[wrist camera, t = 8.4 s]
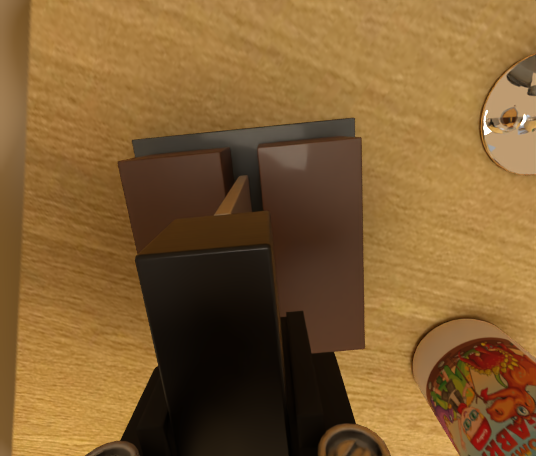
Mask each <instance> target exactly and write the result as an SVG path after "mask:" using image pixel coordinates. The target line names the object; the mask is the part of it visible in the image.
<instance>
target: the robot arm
mask: <svg viewBox="0 0 536 456" xmlns="http://www.w3.org/2000/svg"><path fill="white" fill-rule="evenodd" d="M280 319H281V329H282V340H283V351H284V365H285V379H286V392H287V406H288V418H289V429H290V440H291V450H292V456H391V455H390V452H389V450H388V448H387V446H386V444H385V442H384V441H383V440H382V439H381V438H380V437H379V436H378V435H377V434H376V433H375V432H373V431H372V430H370V429H368V428H367V427H364V426H361V425H358V424H356V423H355V419H354V416H353V413H352V409H351V406H350V403H349V399H348V396H347V393H346V389H345V386H344V383H343V379H342V376H341V373H340V369H339V366H338V363H337V360H336V356H335V354H334V352H322V353H311V348H310V343H309V338H308V332H307V327H306V322H305V317H304V312H303V311H292V312H286V317H280ZM85 456H178V452H177V448H176V443H175V439H174V434H173V430H172V425H171V421H170V416H169V412H168V407H167V403H166V398H165V394H164V389H163V385H162V380H161V375H160V371H159V366H157V367H156V368H155V369H154V371H153V373H152V375H151V377H150V379H149V381H148V383H147V386H146V388H145V390H144V392H143V394H142V396H141V398H140V400H139V402H138V404H137V406H136V409H135V411H134V413H133V415H132V417H131V419H130V421H129V423H128V425H127V427H126V430H125V432H124V434H123V436H122V438H121V440H120V441H114V442H110V443H106V444H104V445H102V446H100V447H97V448H95V449H94V450H93V451H91V452H90V453H88V454H87V455H85Z"/></svg>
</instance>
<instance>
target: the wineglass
mask: <svg viewBox="0 0 536 456" xmlns="http://www.w3.org/2000/svg"><path fill="white" fill-rule="evenodd" d="M481 136H482V142H483V144H484V147H485V150H486V152H487V153H488V155H489V156H490V158H491V159H492V160H493V161H494V162H495V163H496V164H497V165H498V166H499V167H501V168H503V169H504V170H506V171H508V172H511V173H515V174H518V175H536V54H533V55H530V56H527V57H526V58H524V59H522V60H520V61H518V62H517V63H515V64H514V65H513V66H512V67H511V68H509V69H508V70H507V71H506V72H505V73H504V74H503V75H502V76H501V77H500V78H499V80H498V81H497V82H496V83H495V85H494V86H493V88H492V90H491V91H490V93H489V95H488V97H487V100H486V102H485V104H484V108H483V112H482V116H481Z"/></svg>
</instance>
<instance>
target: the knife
mask: <svg viewBox="0 0 536 456" xmlns="http://www.w3.org/2000/svg"><path fill="white" fill-rule="evenodd" d="M135 262H136V267H137V271H138V276H139V280H140V285H141V290H142V294H143V299H144V303H145V308H146V312H147V317H148V321H149V326H150V330H151V335H152V339H153V344H154V348H155V353H156V357H157V362H158V366H159V371H160V375H161V380H162V385H163V389H164V394H165V398H166V403H167V407H168V412H169V416H170V421H171V425H172V430H173V434H174V439H175V443H176V448H177V452H178V456H292V450H291V440H290V429H289V418H288V406H287V392H286V379H285V365H284V351H283V340H282V329H281V319H280V308H279V298H278V287H277V277H276V266H275V256H274V245H273V235H272V224H271V214H270V212H269V211H258V212H252V207H251V198H250V189H249V180H248V175H243V176H239V177H238V179H237V180H236V182H235V183H234V185H233V186H232V188H231V189H230V191H229V193H228V194H227V196H226V197H225V199H224V200H223V202H222V203H221V205H220V206H219V208H218V210H217V211H216V213H215V214H214V216H204V217H193V218H182V219H175V220H174V221H173V222H172V223H170V224H169V225H168V226H167V227H166V228H165V229H164V230H163V231H162V232H161V233H160V234H159V235H158V236H157V237H156V238H155V239H153V240H152V241H151V242H150V243H149V244H148V245H147V246H146V247H145V248H144V249H143V250H142V251H141V252H140V253H139V254H138V255H136V257H135Z"/></svg>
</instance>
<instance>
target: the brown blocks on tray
mask: <svg viewBox="0 0 536 456" xmlns="http://www.w3.org/2000/svg"><path fill="white" fill-rule="evenodd" d="M132 144H133V149H134V154H135V158H132V159H127V160H122V161H118V167H119V172H120V177H121V181H122V186H123V190H124V195H125V199H126V204H127V209H128V213H129V218H130V222H131V227H132V231H133V236H134V240H135V245H136V250H137V254H139V253H140V252H141V251H142V250H143V249H144V248H145V247H146V246H147V245H148V244H149V243H150V242H151V241H152V240H153V239H155V238H156V237H157V236H158V235H159V234H160V233H161V232H162V231H163V230H164V229H165V228H166V227H167V226H168V225H169V224H170V223H172V222H173V221H174V220H175V219H182V218H193V217H204V216H214V214H215V213H216V211H217V210H218V208H219V206H220V205H221V203H222V202H223V200H224V199H225V197H226V196H227V194H228V193H229V191H230V189H231V188H232V186H233V185H234V183H235V182H236V180H237V179H238V177H239V176H243V175H248V180H249V189H250V198H251V207H252V212H258V211H269V212H270V214H271V224H272V235H273V245H274V256H275V266H276V277H277V287H278V298H279V308H280V317H286V312H292V311H303V312H304V317H305V322H306V327H307V332H308V338H309V343H310V348H311V353H322V352H335V351H346V350H358V349H365V330H364V267H363V204H362V140H361V137H355V118H347V119H337V120H327V121H317V122H307V123H297V124H287V125H277V126H267V127H257V128H247V129H237V130H227V131H217V132H206V133H196V134H186V135H176V136H166V137H156V138H146V139H136V140H132Z"/></svg>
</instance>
